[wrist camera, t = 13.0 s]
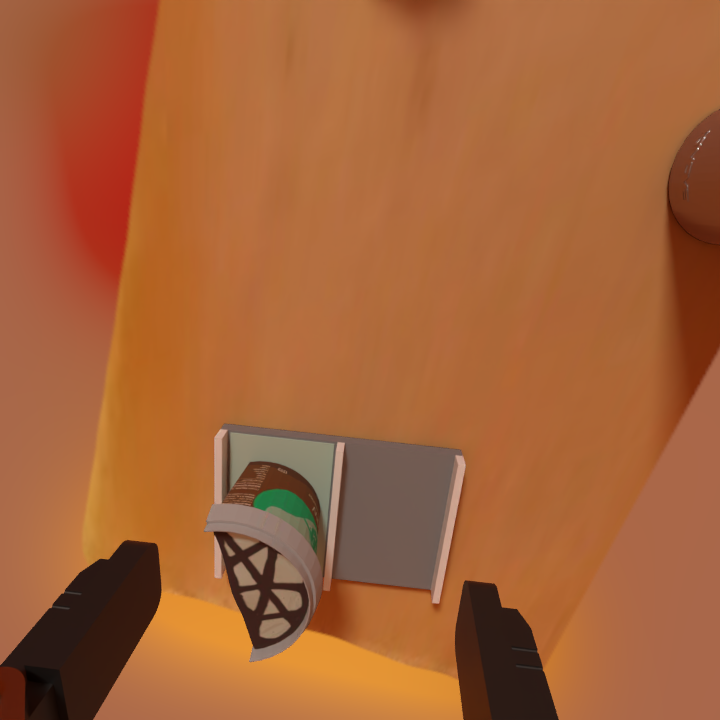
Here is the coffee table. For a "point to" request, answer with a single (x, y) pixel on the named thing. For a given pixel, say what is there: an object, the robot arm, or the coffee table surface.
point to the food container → (270, 553)
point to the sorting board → (360, 501)
